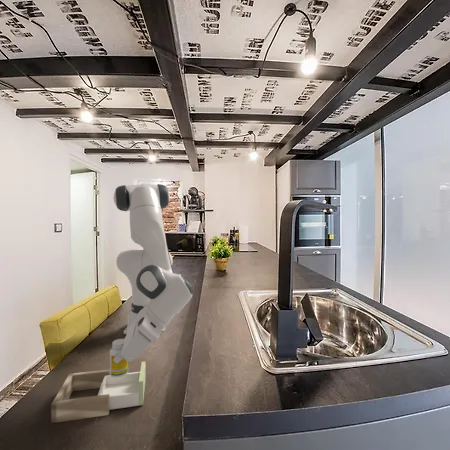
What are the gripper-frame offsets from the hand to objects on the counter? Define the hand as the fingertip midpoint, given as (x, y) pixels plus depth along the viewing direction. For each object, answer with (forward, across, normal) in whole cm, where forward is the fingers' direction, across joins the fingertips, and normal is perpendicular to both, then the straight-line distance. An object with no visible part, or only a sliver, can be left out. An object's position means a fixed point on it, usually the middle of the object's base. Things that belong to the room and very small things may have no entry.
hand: (117, 355), depth 79 cm
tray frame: (+15, 0, +3) cm, 15 cm away
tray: (+9, 0, +10) cm, 13 cm away
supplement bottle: (+4, 0, +4) cm, 6 cm away
